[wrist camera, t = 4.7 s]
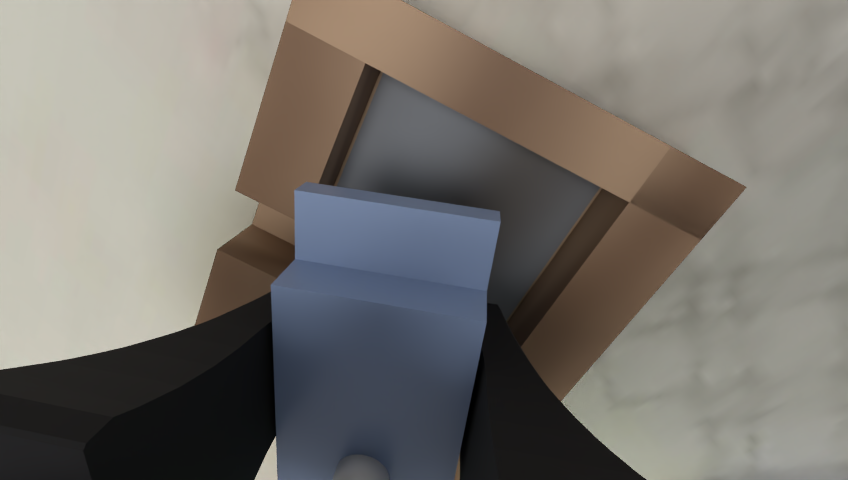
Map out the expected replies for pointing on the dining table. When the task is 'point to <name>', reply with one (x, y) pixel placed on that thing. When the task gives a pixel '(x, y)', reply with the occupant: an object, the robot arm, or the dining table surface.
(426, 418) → the block
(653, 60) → the dining table surface
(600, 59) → the dining table surface
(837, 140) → the dining table surface
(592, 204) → the brown wooden flat frame
